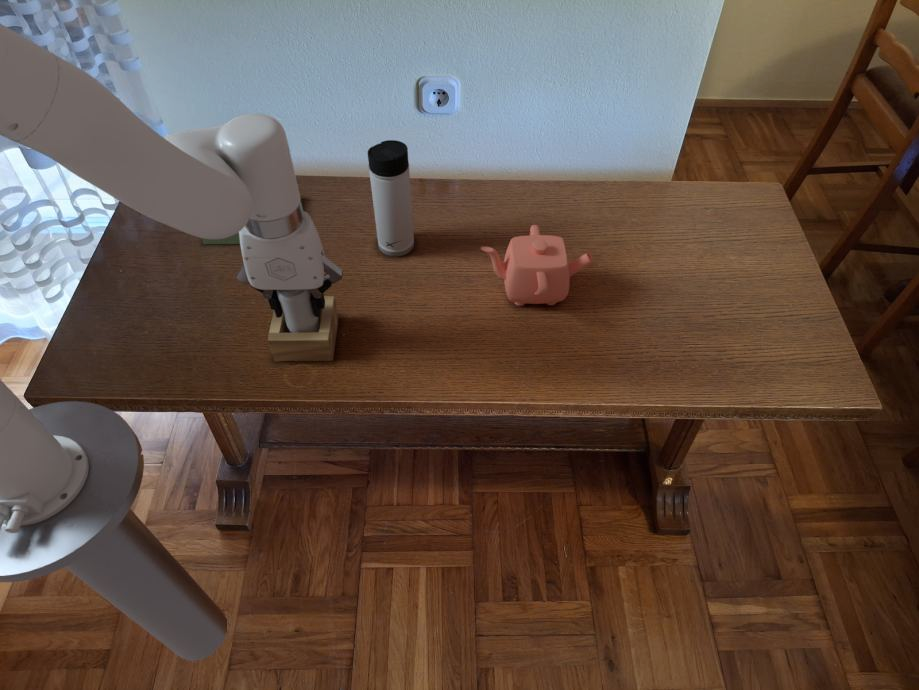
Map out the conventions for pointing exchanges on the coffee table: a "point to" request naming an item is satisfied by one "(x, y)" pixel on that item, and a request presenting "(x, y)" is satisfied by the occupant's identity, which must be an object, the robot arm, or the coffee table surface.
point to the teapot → (536, 268)
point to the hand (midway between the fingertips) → (299, 309)
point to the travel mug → (391, 197)
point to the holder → (305, 337)
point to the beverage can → (298, 311)
